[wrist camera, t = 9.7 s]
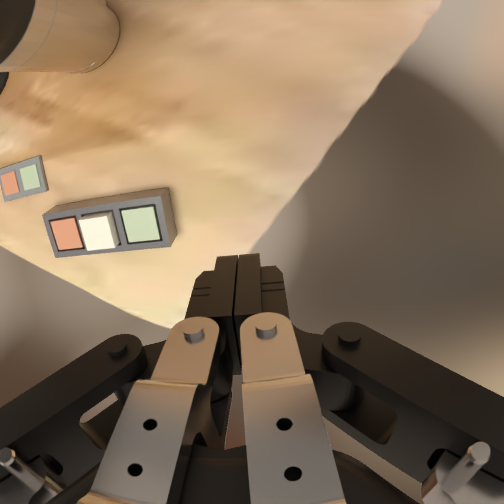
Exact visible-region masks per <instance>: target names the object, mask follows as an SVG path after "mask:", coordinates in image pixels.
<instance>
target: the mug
mask: <svg viewBox="0 0 504 504" xmlns="http://www.w3.org/2000/svg"><path fill="white" fill-rule="evenodd" d="M8 75H9V72H0V94H1V93H2V91H3V89H4V87H5V85H6V82H7V79H8Z"/></svg>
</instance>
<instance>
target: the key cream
mask: <svg viewBox="0 0 504 504" xmlns="http://www.w3.org/2000/svg"><path fill="white" fill-rule="evenodd" d="M79 224H80V227H81V231H82V234H83V238H84V241H85V245H86V248H87V251H90V250H100V249H109V248H115V247H116V246H117V245H118V244H119V243H120V237H119V233H118V229H117V225H116V221H115V217H114V213H113V210H106V211H99V212H93V213H87V214H86V215H84V216H83V217H82V218H81V219H80V220H79Z"/></svg>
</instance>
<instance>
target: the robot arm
mask: <svg viewBox="0 0 504 504" xmlns="http://www.w3.org/2000/svg"><path fill="white" fill-rule="evenodd" d="M119 31H120V29H119V22H118V19H117V17H116V15H115V14H114V12H113V11H112V10H110V9H109V8H108V7H107V1H106V0H0V72H65V73H84V72H89V71H91V70H93V69H96V68H97V67H98V66H100V65H101V64H103V63H104V62H105V61H106V60H107V59H108V58H109V56H110V55H111V54H112V52H113V50H114V48H115V47H116V44H117V41H118V38H119ZM242 368H243V383H242V395H243V407H244V408H243V409H244V423H245V436H246V445H244V446H240V447H236V448H231V449H227V450H225V440H226V433H227V427H228V421H229V415H230V408H231V402H232V389H231V387H232V380H233V375H240V374H241V371H242ZM112 393H115V395H116V397H117V398H118V400H117V401H116V402H114V403H113V404H112V405H110V406H109V407H108V408H106V409H105V410H103V411H102V412H100V413H99V414H98V415H96V416H95V417H93V418H92V419H90V420H89V421H87V422H85V423H79V421H80V418H81V416H82V415H83V414H84V413H85V412H86V411H88V410H89V409H91V408H92V407H94V406H95V405H96V404H98V403H99V402H101V401H102V400H104V399H105V398H106V397H108V396H109V395H111V394H112ZM323 416H324V417H325V418H326V419H327V420H329V421H330V422H332V423H333V424H334V425H336V426H337V427H338V428H340V429H341V430H343V431H344V432H345V433H347V434H348V435H350V436H351V437H352V438H354V439H355V440H357V441H358V442H360V443H361V444H362V445H364V446H365V447H367V448H368V449H370V450H371V451H373V452H374V453H376V454H377V455H378V456H380V457H382V458H383V459H385V460H386V461H388V462H389V463H391V464H392V465H394V466H395V467H397V468H399V469H400V470H401V471H403V472H405V473H406V474H408V475H409V476H411V477H412V478H414V479H416V480H417V481H419V482H421V483H422V485H421V496H422V499H423V501H424V503H425V504H504V397H502V396H500V395H498V394H496V393H494V392H493V391H491V390H488V389H486V388H484V387H482V386H481V385H479V384H477V383H475V382H473V381H471V380H469V379H467V378H465V377H463V376H461V375H459V374H457V373H455V372H453V371H451V370H449V369H447V368H445V367H444V366H442V365H440V364H438V363H436V362H434V361H432V360H430V359H428V358H426V357H424V356H422V355H420V354H418V353H416V352H414V351H413V350H411V349H409V348H407V347H405V346H403V345H401V344H399V343H397V342H395V341H393V340H391V339H390V338H388V337H386V336H384V335H382V334H380V333H378V332H376V331H374V330H372V329H370V328H369V327H367V326H365V325H362V324H360V323H355V322H341V323H337V324H334V325H332V326H331V327H329V328H328V329H327V330H326V331H325V332H324V334H323V335H320V334H312V333H308V332H304V331H302V330H299V329H298V328H296V327H295V326H294V325H293V324H292V323H291V321H290V318H289V313H288V306H287V299H286V293H285V286H284V280H283V273H282V272H281V271H280V270H279V269H278V268H277V267H276V266H265V267H261V265H260V255H259V253H256V254H244V255H239V258H238V255H232V256H220V257H217V260H216V264H215V269H214V271H203V272H202V273H201V274H200V275H199V276H198V277H197V278H196V280H195V283H194V287H193V290H192V294H191V297H190V301H189V305H188V308H187V312H186V315H185V319H184V320H182V321H180V322H178V323H177V324H176V325H175V326H173V328H172V329H171V331H170V333H169V335H168V338H167V340H165V341H162V342H159V343H154V344H150V345H146V346H142V343H141V341H140V340H139V338H137V337H136V336H134V335H130V334H120V335H116V336H113V337H110V338H108V339H107V340H105V341H104V342H102V343H101V344H99V345H97V346H96V347H94V348H93V349H91V350H89V351H88V352H86V353H85V354H83V355H82V356H80V357H79V358H77V359H75V360H74V361H72V362H71V363H69V364H68V365H66V366H65V367H63V368H61V369H60V370H58V371H57V372H55V373H54V374H52V375H51V376H49V377H47V378H46V379H44V380H43V381H41V382H40V383H38V384H37V385H35V386H34V387H32V388H30V389H29V390H27V391H26V392H24V393H23V394H21V395H19V396H18V397H16V398H15V399H13V400H12V401H10V402H9V403H7V404H6V405H4V406H2V407H1V408H0V504H419V503H417V502H416V501H415V500H413V499H412V498H410V497H409V496H407V495H406V494H404V493H403V492H402V491H400V490H399V489H397V488H396V487H395V486H393V485H392V484H390V483H389V482H388V481H386V480H385V479H383V478H382V477H381V476H379V475H378V474H377V473H375V472H374V471H373V470H371V469H370V468H369V467H367V466H366V465H364V464H363V463H362V462H360V461H359V460H357V459H355V458H353V457H351V456H349V455H346V454H344V453H342V452H338V451H335V450H332V448H331V445H330V441H329V438H328V434H327V430H326V426H325V423H324V419H323Z"/></svg>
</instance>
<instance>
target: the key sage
mask: <svg viewBox="0 0 504 504" xmlns="http://www.w3.org/2000/svg"><path fill="white" fill-rule="evenodd" d="M121 212H122V216H123V220H124V225H125V229H126V233H127V237H128V241H129V242H138V241H148V240H158V239H160V238H161V237H162V235H161V230H160V225H159V220H158V215H157V210H156V205H155V204H149V205H141V206H134V207H126V208H124V209H123V210H122V211H121Z"/></svg>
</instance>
